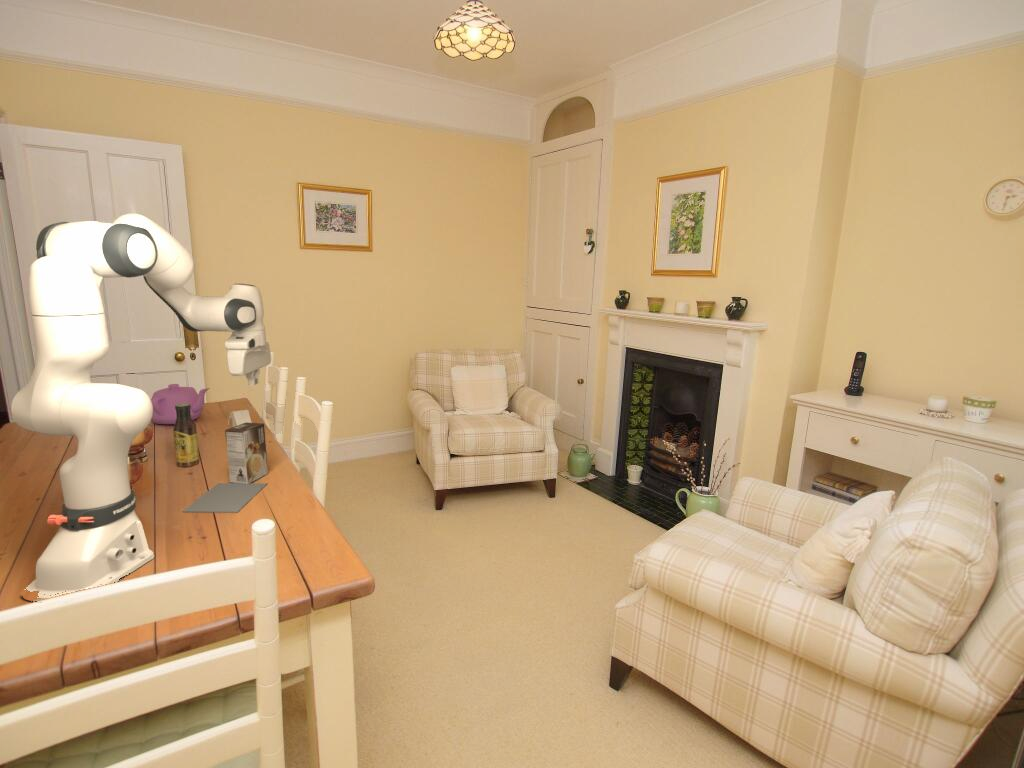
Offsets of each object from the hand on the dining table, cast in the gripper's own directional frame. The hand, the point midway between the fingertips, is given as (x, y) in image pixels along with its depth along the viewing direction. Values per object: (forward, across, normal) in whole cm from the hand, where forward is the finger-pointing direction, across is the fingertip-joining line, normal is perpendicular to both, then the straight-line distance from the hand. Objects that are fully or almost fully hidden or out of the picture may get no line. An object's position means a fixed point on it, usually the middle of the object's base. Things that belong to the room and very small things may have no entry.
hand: (253, 384), depth 158 cm
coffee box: (+27, +8, 0) cm, 28 cm away
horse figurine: (+28, -27, -17) cm, 42 cm away
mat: (+27, +21, 0) cm, 34 cm away
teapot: (+27, -50, -54) cm, 78 cm away
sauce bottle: (+27, -3, -24) cm, 36 cm away
